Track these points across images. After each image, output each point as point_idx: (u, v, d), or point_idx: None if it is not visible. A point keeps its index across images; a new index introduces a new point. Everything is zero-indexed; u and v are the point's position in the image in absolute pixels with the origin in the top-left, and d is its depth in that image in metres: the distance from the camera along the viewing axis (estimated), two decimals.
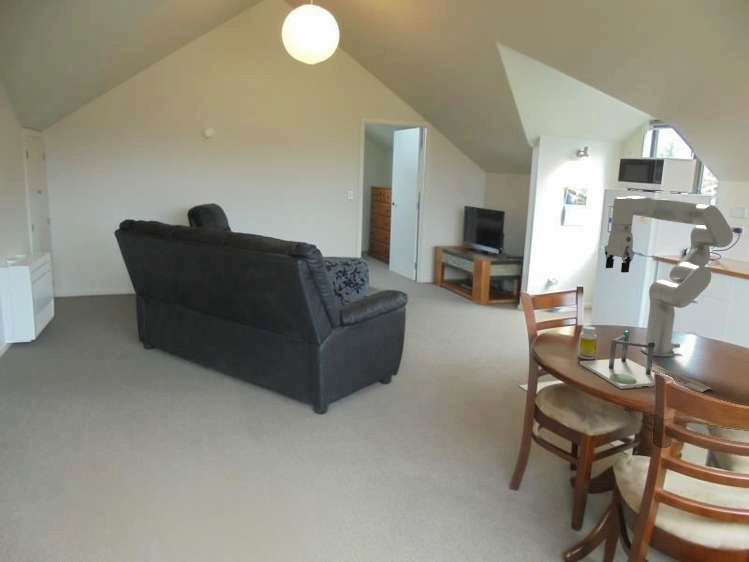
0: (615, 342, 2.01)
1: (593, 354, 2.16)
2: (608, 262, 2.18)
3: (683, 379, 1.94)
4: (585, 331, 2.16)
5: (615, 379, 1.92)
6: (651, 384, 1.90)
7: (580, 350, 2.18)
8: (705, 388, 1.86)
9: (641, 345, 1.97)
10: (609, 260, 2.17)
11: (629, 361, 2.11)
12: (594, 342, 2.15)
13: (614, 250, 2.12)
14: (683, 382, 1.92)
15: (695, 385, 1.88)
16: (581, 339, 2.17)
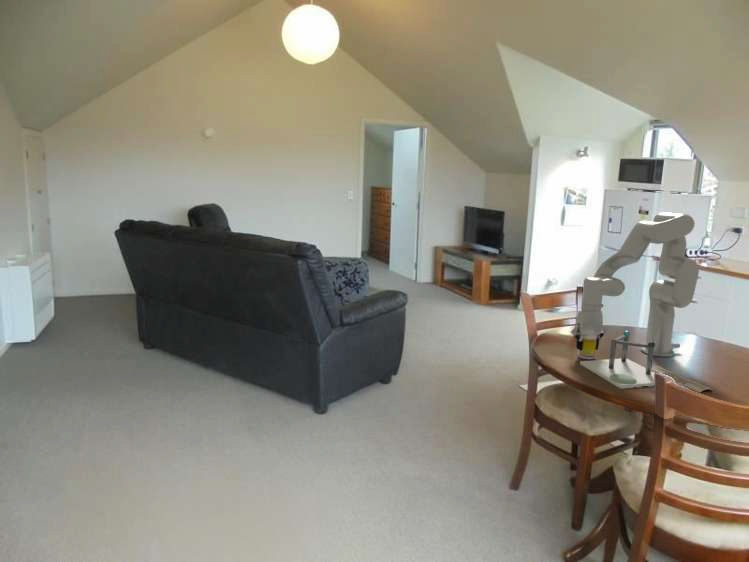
0: (615, 342, 2.01)
1: (593, 354, 2.16)
2: None
3: (682, 379, 1.94)
4: None
5: (615, 379, 1.92)
6: (651, 384, 1.90)
7: None
8: (703, 388, 1.86)
9: (641, 345, 1.97)
10: None
11: (629, 361, 2.11)
12: (594, 342, 2.15)
13: (592, 329, 2.15)
14: (682, 382, 1.92)
15: (694, 385, 1.88)
16: None
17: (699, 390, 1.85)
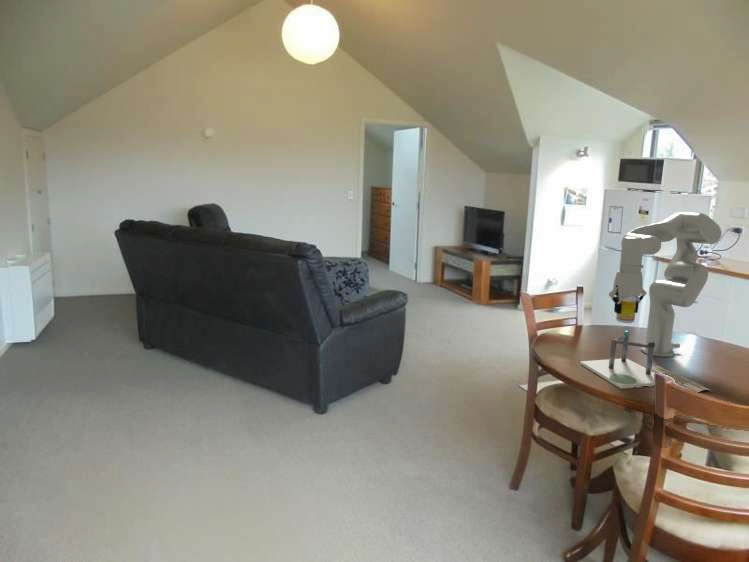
0: (615, 342, 2.01)
1: (632, 317, 2.06)
2: None
3: (681, 379, 1.94)
4: None
5: (615, 379, 1.92)
6: (651, 384, 1.90)
7: None
8: (702, 388, 1.85)
9: (641, 345, 1.97)
10: None
11: (629, 361, 2.11)
12: (633, 305, 2.05)
13: (632, 291, 2.04)
14: (680, 382, 1.92)
15: (692, 385, 1.88)
16: None
17: (697, 390, 1.85)
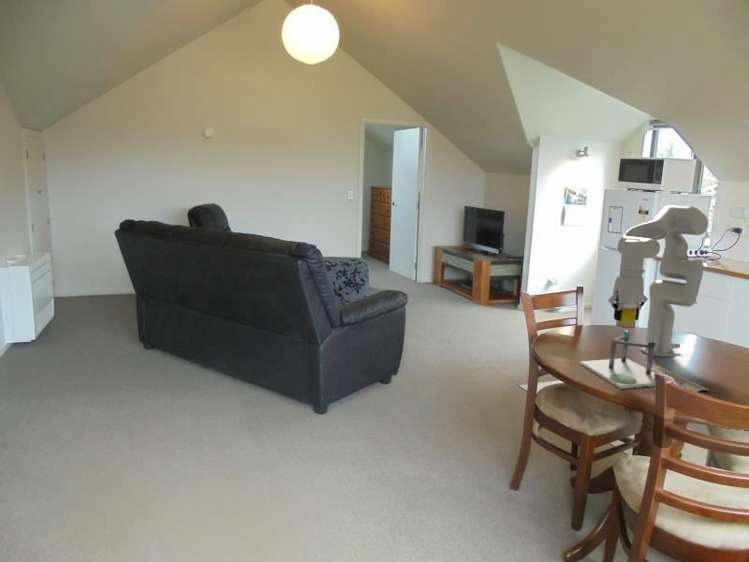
0: (615, 342, 2.01)
1: (633, 325, 1.96)
2: None
3: (680, 379, 1.94)
4: None
5: (615, 379, 1.92)
6: (651, 384, 1.90)
7: None
8: (700, 389, 1.85)
9: (641, 345, 1.97)
10: None
11: (629, 361, 2.11)
12: (634, 311, 1.95)
13: (632, 297, 1.94)
14: (679, 382, 1.92)
15: (691, 385, 1.88)
16: None
17: (695, 390, 1.85)
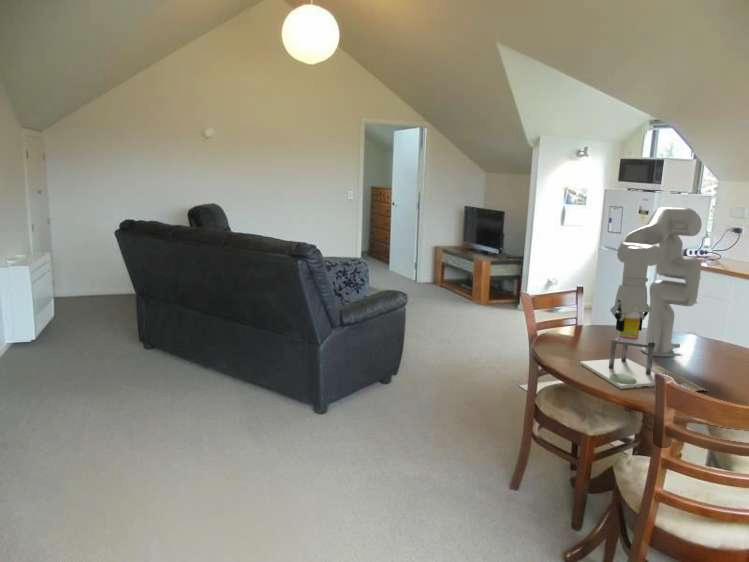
0: (615, 342, 2.01)
1: (636, 336, 1.86)
2: None
3: (678, 379, 1.94)
4: None
5: (615, 379, 1.92)
6: (651, 384, 1.90)
7: None
8: (697, 389, 1.85)
9: (641, 345, 1.97)
10: None
11: (629, 361, 2.11)
12: (637, 322, 1.85)
13: None
14: (678, 382, 1.92)
15: (689, 386, 1.88)
16: None
17: None
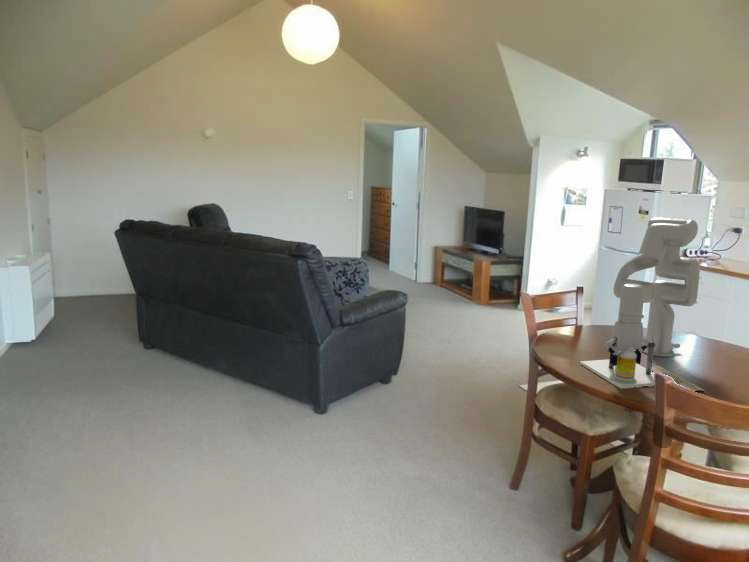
0: None
1: (632, 375, 1.89)
2: None
3: (677, 379, 1.94)
4: None
5: (615, 379, 1.92)
6: (651, 384, 1.90)
7: (617, 370, 1.91)
8: (695, 389, 1.85)
9: None
10: None
11: None
12: (634, 362, 1.88)
13: (631, 343, 1.88)
14: (676, 382, 1.92)
15: (687, 386, 1.88)
16: (618, 358, 1.90)
17: None
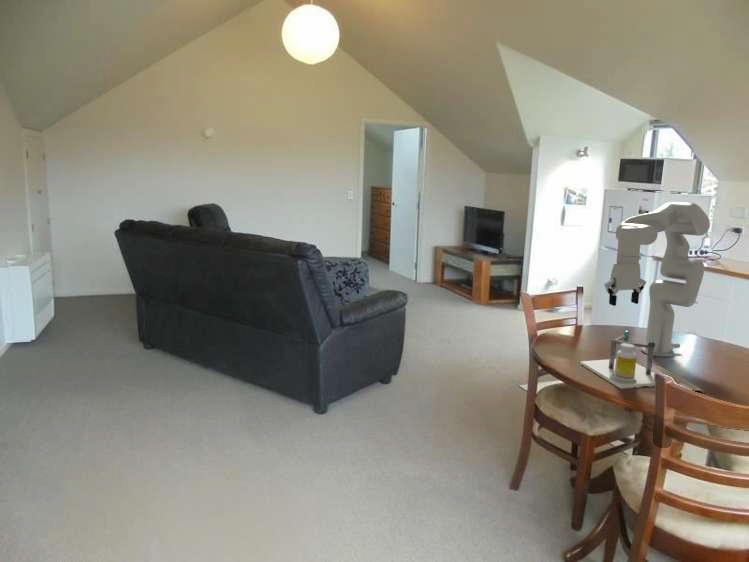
0: (615, 342, 2.01)
1: (632, 375, 1.89)
2: None
3: (676, 379, 1.94)
4: (623, 349, 1.89)
5: (615, 379, 1.92)
6: (651, 384, 1.90)
7: (617, 370, 1.91)
8: (694, 389, 1.85)
9: (641, 345, 1.97)
10: None
11: None
12: (634, 362, 1.88)
13: (629, 284, 1.95)
14: None
15: (685, 386, 1.88)
16: (618, 358, 1.90)
17: None
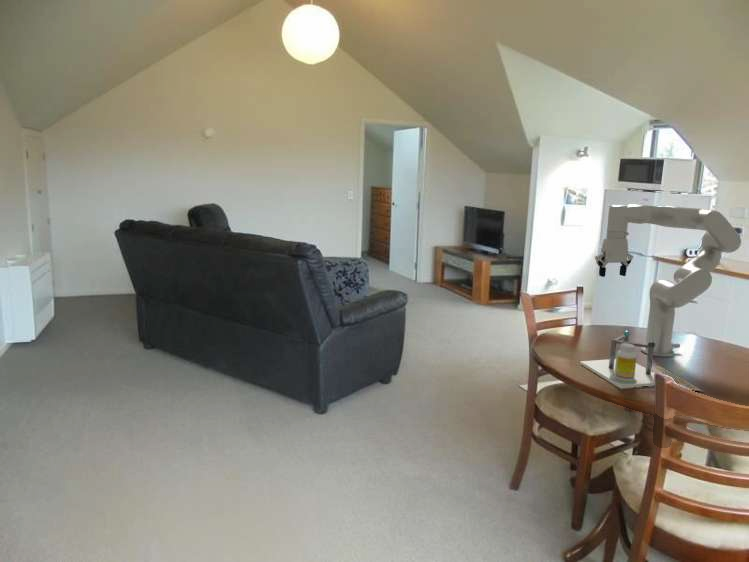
0: (615, 342, 2.01)
1: (632, 375, 1.89)
2: None
3: (675, 379, 1.94)
4: (623, 349, 1.89)
5: (615, 379, 1.92)
6: (651, 384, 1.90)
7: (617, 370, 1.91)
8: (692, 389, 1.85)
9: (641, 345, 1.97)
10: None
11: None
12: (633, 362, 1.88)
13: (618, 257, 2.16)
14: None
15: (684, 386, 1.88)
16: (618, 358, 1.90)
17: None
